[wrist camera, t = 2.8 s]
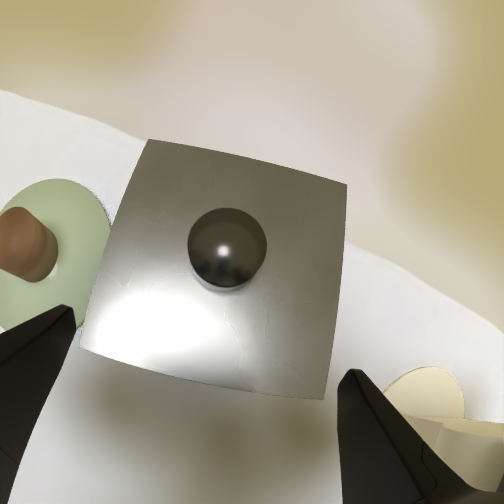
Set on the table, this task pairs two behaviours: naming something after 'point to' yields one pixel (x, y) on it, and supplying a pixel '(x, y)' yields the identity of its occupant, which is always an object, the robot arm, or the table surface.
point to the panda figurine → (450, 426)
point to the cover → (222, 272)
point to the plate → (69, 252)
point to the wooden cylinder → (26, 245)
